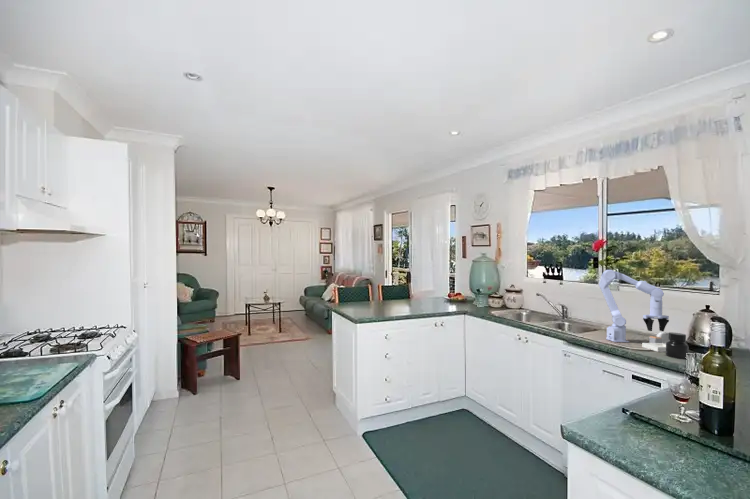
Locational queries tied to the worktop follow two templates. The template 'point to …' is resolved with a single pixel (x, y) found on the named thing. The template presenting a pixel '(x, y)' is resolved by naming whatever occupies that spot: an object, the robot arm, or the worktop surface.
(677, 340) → the ink bottle
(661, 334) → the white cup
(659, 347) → the socket plate
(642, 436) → the worktop surface
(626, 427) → the worktop surface
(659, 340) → the plug
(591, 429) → the worktop surface
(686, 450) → the worktop surface
